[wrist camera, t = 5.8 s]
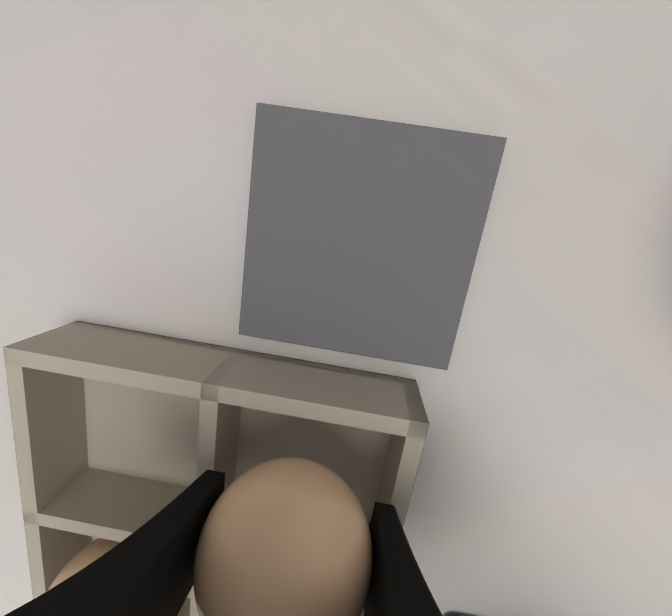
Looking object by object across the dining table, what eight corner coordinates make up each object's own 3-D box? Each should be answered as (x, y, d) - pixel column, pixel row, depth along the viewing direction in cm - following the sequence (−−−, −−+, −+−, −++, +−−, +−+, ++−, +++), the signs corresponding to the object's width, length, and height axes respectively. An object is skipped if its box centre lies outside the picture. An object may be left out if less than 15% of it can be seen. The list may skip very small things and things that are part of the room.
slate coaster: (499, 142, 11) (506, 138, 11) (443, 363, 13) (446, 370, 13) (262, 108, 12) (256, 102, 11) (244, 329, 14) (238, 334, 13)
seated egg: (206, 511, 16) (134, 643, 11) (201, 592, 17) (135, 741, 12) (101, 491, 16) (-15, 611, 11) (105, 571, 17) (3, 710, 12)
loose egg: (383, 439, 12) (395, 598, 7) (359, 552, 13) (354, 752, 8) (239, 413, 12) (151, 548, 7) (230, 526, 13) (150, 707, 8)
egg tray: (415, 380, 14) (429, 423, 11) (357, 630, 17) (355, 713, 14) (77, 321, 14) (3, 347, 11) (91, 575, 18) (38, 643, 15)
